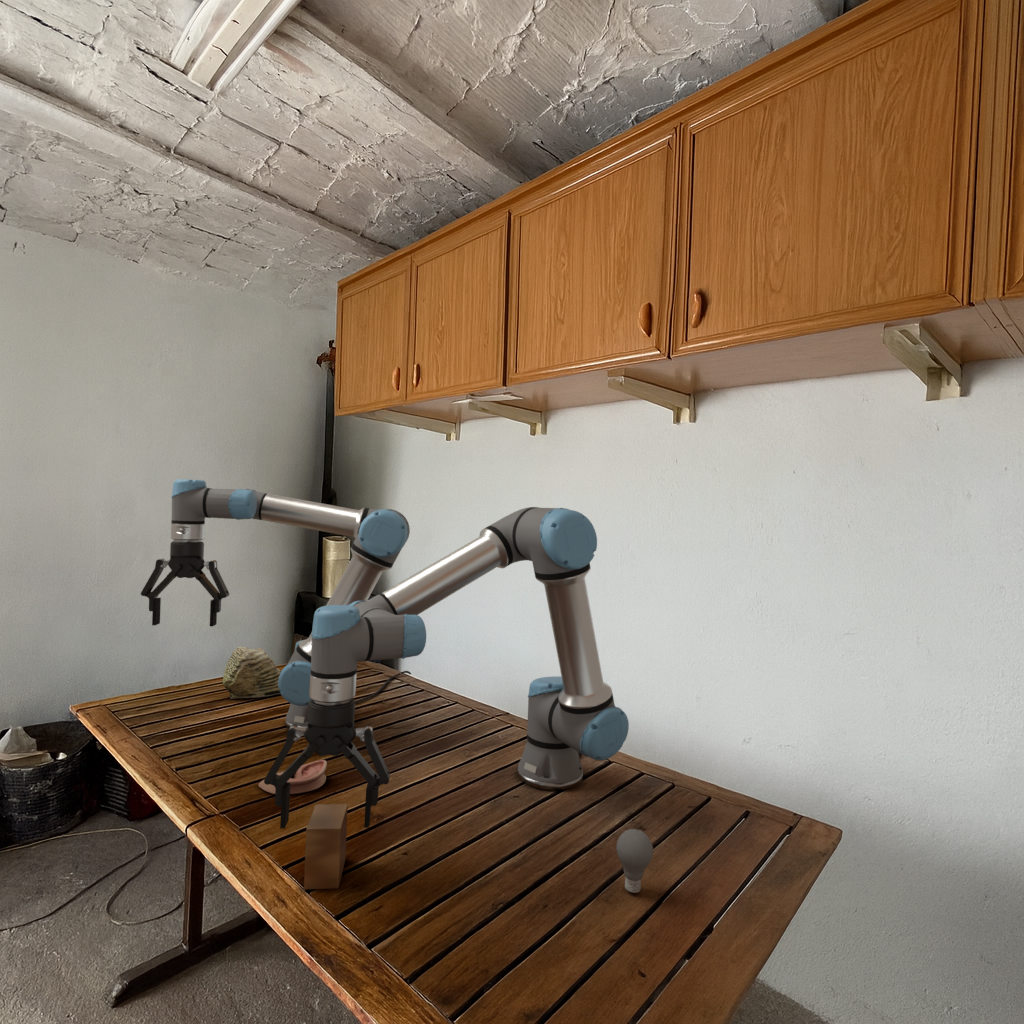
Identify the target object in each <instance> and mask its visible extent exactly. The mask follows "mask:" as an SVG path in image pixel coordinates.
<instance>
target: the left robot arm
mask: <svg viewBox="0 0 1024 1024" xmlns="http://www.w3.org/2000/svg"><path fill="white" fill-rule="evenodd" d="M170 498H171V522H170V540H173V541H171V542H170V544H169V545H170V546H169V547H170V549H169V560H168V559H164V558H160V559H159V558H158V559H156V560H155V565H154V569H153V571H152V573H151V574H150V576H149V578H148V580H147V581H146V582H145V584H144V586H143V588H142V590H141V592H140V595H141V596H142V597H146V598H148V611H149V612H152V614H151V626H158V625H160V624H161V603H162V598H161V597H159V595H160V594H161V593H162V592H163V591H164V590H165V589H166V588H167V587H168V586H169V585H170V584H171V583H172V582H173V580H175V579H176V578H177V579H183V578H186V579H193V578H195V579H196V581H198V582H199V583H200V584H201V586H202V587H203V588H204V589H205V590H206V592H207V593H208V594H209V595H210V596H211V597H212V598H213V599H211V600H210V603H209V604H210V605H209V606H210V608H209V627H215V626H216V625H217V624H218V623H217V622H218V621H217V620H218V619H217V617H218V613H220V612H221V610H222V600H223V599H225V598H227V597H229V596H230V592H229V589H228V587H227V586H226V583H225V581H224V579H223V577H222V575H221V573H220V571H219V569H218V561H217V560H216V559H213V560H210V561H208V560H207V561H206V560H205V558H204V557H205V555H204V554H205V543H204V539H205V526H206V525H205V523H206V518H207V519H224V520H225V519H226V520H228V519H229V520H238V521H240V520H252V519H253V520H257V521H258V520H259V521H264V522H269V523H270V522H271V523H276V524H281V525H287V526H291V527H292V526H293V527H297V528H304V529H309V530H312V531H313V530H314V531H318V532H319V531H320V532H325V533H330V534H334V535H340V536H346V537H352V538H354V541H353V543H352V544H351V546H350V551H351V556H352V557H351V559H350V561H349V562H348V564H347V566H346V568H345V570H344V572H343V574H342V576H341V577H340V579H339V581H338V583H337V585H336V586H335V589H333V592H332V594H331V596H330V598H329V600H328V602H327V603H326V605H325V606H327V605H349V604H351V603H353V602H355V601H368V600H369V598H370V596H371V594H372V592H373V591H374V589H375V587H376V585H377V583H378V581H379V580H380V578H381V576H382V574H383V572H385V571H389V570H391V569H392V568H393V566H394V564H395V562H396V561H397V558H398V556H399V555H400V553H401V551H402V549H403V548H404V546H405V545H406V543H407V542H408V539H409V537H410V529H411V528H410V525H409V521H408V519H407V518H406V516H405V515H404V514H403V513H402V512H399V511H398V510H395V509H391V508H385V509H383V508H381V509H378V508H370V507H363V508H361V509H356V508H355V509H354V508H349V507H343V506H339V505H334V504H327V503H322V502H317V501H311V500H306V499H301V498H294V497H290V496H283V495H279V494H273V493H267V492H262V491H257V490H255V489H250V488H245V489H244V488H213V487H212V488H211V487H208V486H207V482H206V480H204V479H188V478H187V479H186V478H177V479H175V480H174V481H173V483H172V493H171V497H170ZM202 540H203V541H202ZM167 566H168V567H169V569H170V571H169V572H168V574H166V576H165V578H164V579H163V580H161V581H160V582H159V584H157V586H155V585H156V583H157V582H158V580H159V578H160V577H161V574H162V573H163V571H164V569H166V568H167ZM205 567H206V570H209V574H210V575H211V577H212V580H213V582H214V584H215V586H216V587H215V586H214V584H213V583H212V581H210V579H208V577H207V576H206V573H205V572H204V571H203V569H204V568H205ZM154 587H155V588H154ZM311 650H312V637H311V634H309V636H308V638H307V639H303V640H302V639H301V640H298V641H297V642H296V643H295V648H294V650H293V653H292V655H291V657H290V658H289V660H288V663H286V665H285V666H284V667H283V668H282V669H281V670H280V672H281V673H280V676H279V680H278V687H279V691H280V695H281V696H282V698H283V699H284V701H286V702H288V703H289V708H288V711H287V713H286V715H285V726H286V728H287V729H289V728H290V727H291V726H292V725H293V724H295V725H297V726H298V727H300V728H307V725H308V709H309V701H310V700H311V698H310V697H309V689H310V673H311ZM400 673H401V674H400ZM403 674H408V675H412V673H411V672H410V671H409V670H403V671H400V672H398V673H397V674H394V675H392V676H390V677H389V678H388V679H387V680H386V681H385V682H384V683H383V685H382V686H381V687H380V688H379V689H378V690H377V691H375V692H374V693H372V694H370V695H368V696H365V697H363V698H360V699H356V700H355V705H356V704H359V703H360V702H364V701H366V700H369V699H371V698H373V697H374V696H376V695H378V694H379V693H381V691H382V690H383V689H384V688H386V686H387V685H388V684H389V682H390V681H391V680H393V679H394V678H397V677H399V676H401V675H403Z"/></svg>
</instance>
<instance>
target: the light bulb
mask: <svg viewBox="0 0 1024 1024" xmlns="http://www.w3.org/2000/svg"><path fill="white" fill-rule="evenodd" d="M615 849H616V854H617V857H618V859H619V861H620V863H621V865H622V867H623V873H624V874H623V875H624V876H625V878H624V888H625V890H627V891H628V892H630V893H634V894H635V893H639V892H640V891H641V889H642V887H641V886H642V879H643V877H644V875H645V871H646V868H647V867H648V866H649V864H650V863H651V861H652V859H653V855H654V847H653V843H652V841H651V838H649V836H648V835H647V834H646V833H645V832H643V831H642V830H641V829H636V828H629V829H627V830H625V831H623V832H622V833H621V834H620V835H619V837H618V839H617V841H616V847H615Z"/></svg>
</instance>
